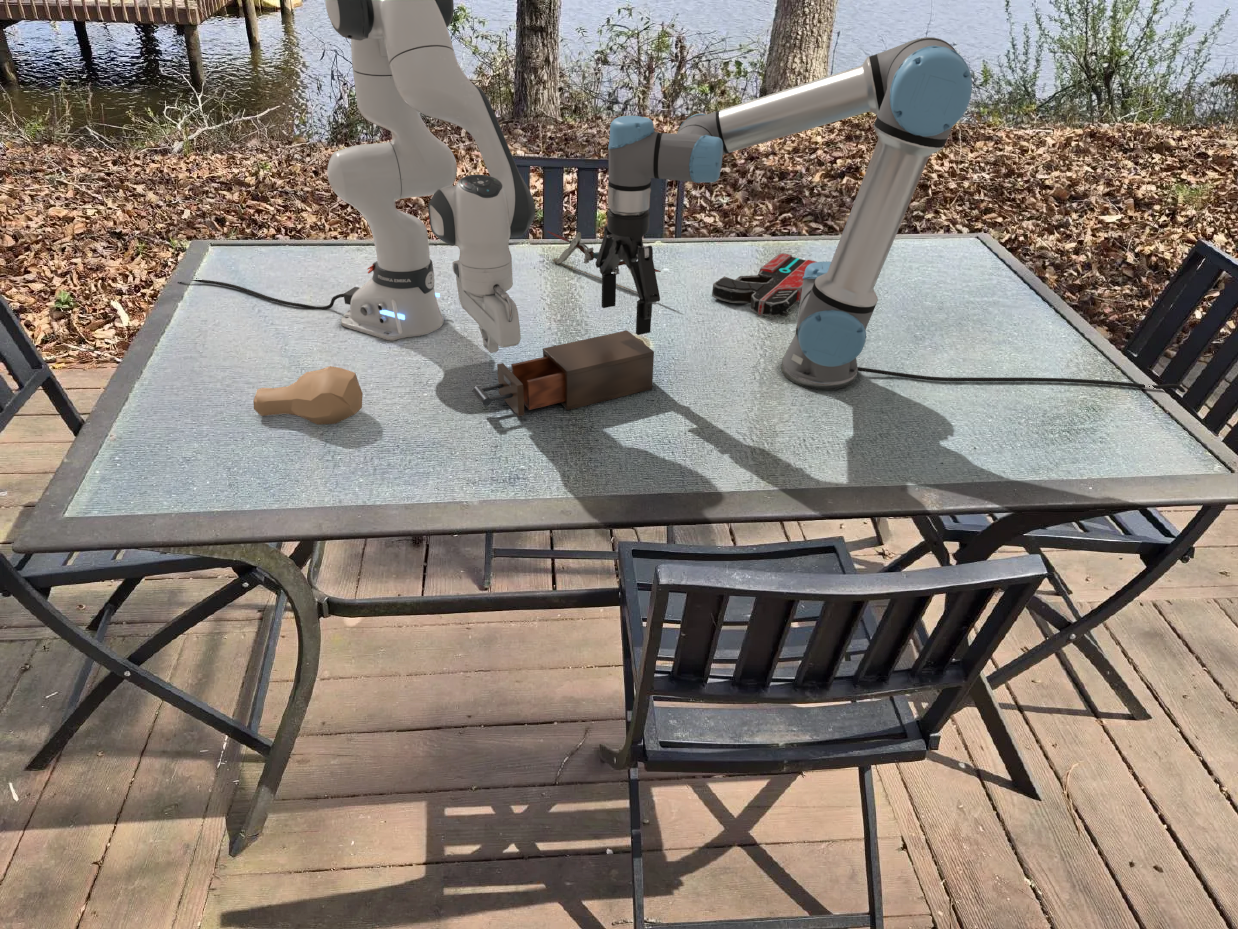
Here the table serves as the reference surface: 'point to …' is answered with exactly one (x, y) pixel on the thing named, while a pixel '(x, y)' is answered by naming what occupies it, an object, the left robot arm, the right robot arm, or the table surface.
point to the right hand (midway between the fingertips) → (625, 319)
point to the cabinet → (603, 368)
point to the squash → (314, 397)
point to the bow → (588, 253)
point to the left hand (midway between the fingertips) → (491, 349)
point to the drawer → (527, 385)
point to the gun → (766, 286)
